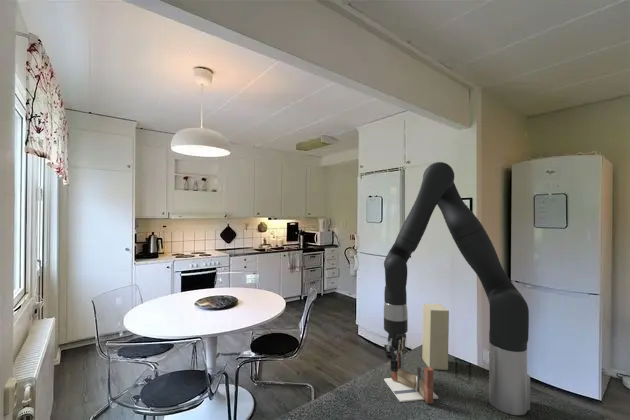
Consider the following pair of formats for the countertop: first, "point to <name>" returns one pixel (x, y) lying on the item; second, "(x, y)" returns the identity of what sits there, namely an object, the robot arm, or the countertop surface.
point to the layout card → (405, 391)
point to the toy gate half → (404, 376)
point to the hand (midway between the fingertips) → (395, 369)
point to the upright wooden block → (435, 336)
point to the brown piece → (425, 384)
